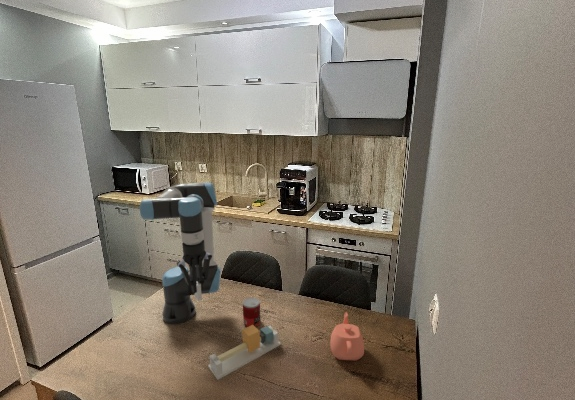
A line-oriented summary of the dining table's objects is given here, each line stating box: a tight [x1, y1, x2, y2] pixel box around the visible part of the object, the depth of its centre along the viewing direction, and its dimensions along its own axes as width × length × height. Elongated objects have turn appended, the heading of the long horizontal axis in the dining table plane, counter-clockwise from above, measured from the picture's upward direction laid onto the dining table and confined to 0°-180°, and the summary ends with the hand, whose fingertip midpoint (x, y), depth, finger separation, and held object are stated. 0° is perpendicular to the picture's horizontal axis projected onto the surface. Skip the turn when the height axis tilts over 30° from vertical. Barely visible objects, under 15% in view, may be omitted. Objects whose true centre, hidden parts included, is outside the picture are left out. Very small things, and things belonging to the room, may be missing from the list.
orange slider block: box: [241, 325, 260, 353], centre depth 125 cm, size 5×5×8 cm
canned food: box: [242, 297, 261, 328], centre depth 144 cm, size 8×8×11 cm
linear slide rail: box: [207, 325, 282, 380], centre depth 125 cm, size 8×29×7 cm, turn 129°
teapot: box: [329, 311, 365, 362], centre depth 126 cm, size 13×20×12 cm, turn 174°
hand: (198, 298), depth 118 cm, fingers closed
